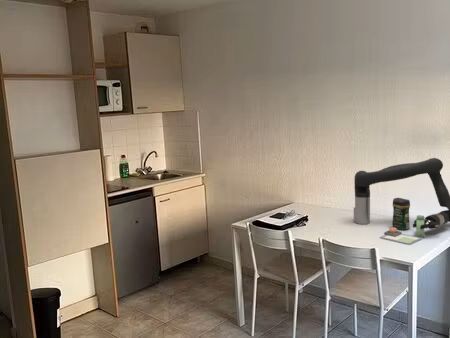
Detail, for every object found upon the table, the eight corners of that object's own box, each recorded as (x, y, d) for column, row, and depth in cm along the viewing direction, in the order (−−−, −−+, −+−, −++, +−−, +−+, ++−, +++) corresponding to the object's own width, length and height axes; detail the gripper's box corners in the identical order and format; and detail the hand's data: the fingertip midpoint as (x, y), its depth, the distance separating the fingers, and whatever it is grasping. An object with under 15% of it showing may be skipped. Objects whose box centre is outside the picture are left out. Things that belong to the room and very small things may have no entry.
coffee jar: (389, 227, 272) (390, 198, 269) (398, 225, 275) (399, 196, 273) (403, 231, 263) (403, 200, 260) (412, 228, 267) (412, 198, 264)
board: (378, 238, 253) (378, 234, 253) (392, 232, 262) (392, 229, 262) (409, 245, 239) (409, 241, 239) (422, 239, 248) (422, 235, 248)
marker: (414, 236, 252) (415, 216, 250) (418, 235, 255) (418, 214, 253) (421, 238, 249) (422, 217, 247) (425, 236, 252) (425, 216, 250)
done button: (387, 232, 256) (387, 228, 256) (391, 230, 259) (391, 226, 258) (394, 233, 253) (394, 229, 253) (397, 232, 256) (398, 228, 255)
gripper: (423, 212, 264) (406, 217, 255) (446, 216, 253) (429, 222, 243) (423, 224, 265) (405, 230, 256) (446, 229, 254) (429, 235, 244)
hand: (417, 226), depth 249 cm, fingers closed on marker, 4 cm apart
